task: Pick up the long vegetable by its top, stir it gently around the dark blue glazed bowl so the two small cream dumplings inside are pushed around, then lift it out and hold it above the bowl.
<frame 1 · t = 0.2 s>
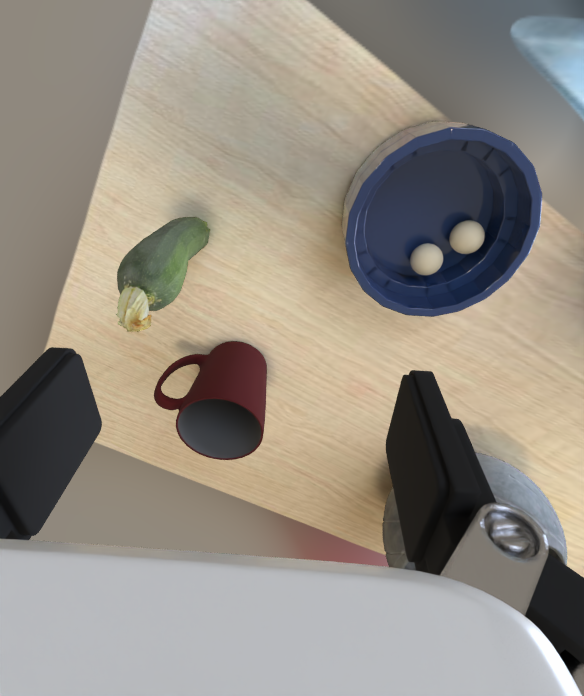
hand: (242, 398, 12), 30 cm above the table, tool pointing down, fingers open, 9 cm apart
vegetable: (198, 220, 39), on the table
dumpling a: (466, 237, 37), point 2 cm above the table, tilted 59°, touching mixing bowl
dumpling b: (426, 259, 38), point 2 cm above the table, tilted 81°, touching mixing bowl
mixing bowl: (423, 214, 38), on the table
bowl: (445, 471, 59), on the table
mug: (225, 359, 49), on the table
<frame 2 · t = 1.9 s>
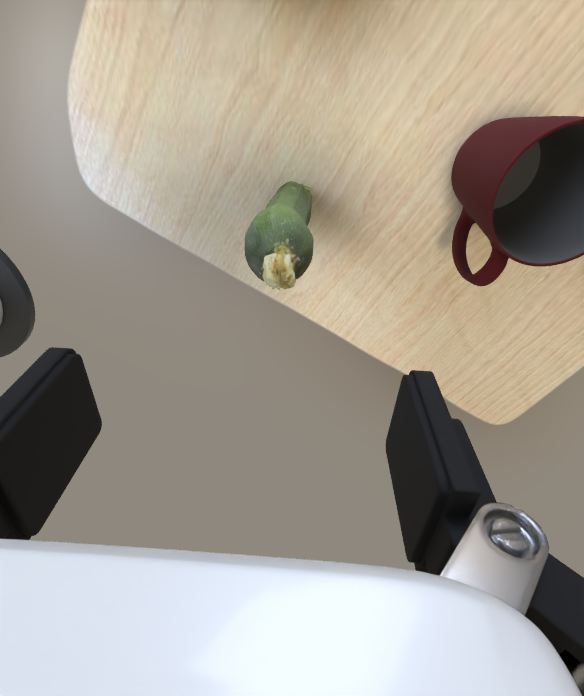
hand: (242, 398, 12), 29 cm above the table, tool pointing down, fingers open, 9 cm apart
vegetable: (288, 195, 36), on the table
mug: (481, 184, 35), on the table
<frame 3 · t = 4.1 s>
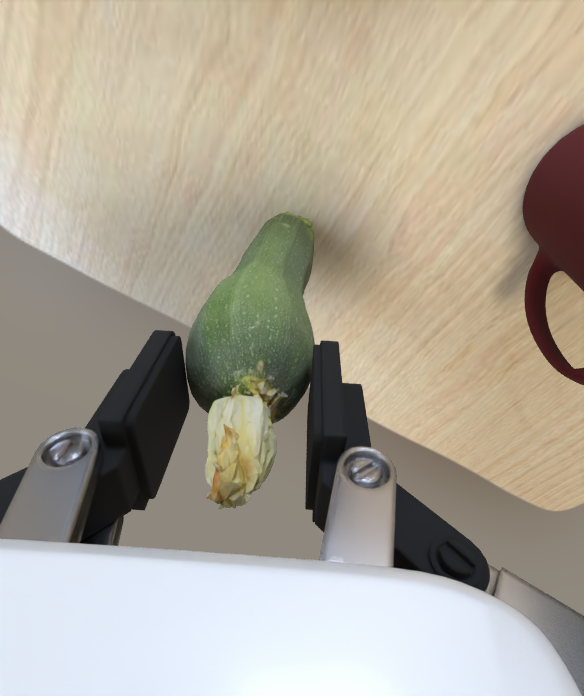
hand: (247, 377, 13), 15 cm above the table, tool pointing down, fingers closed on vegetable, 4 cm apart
vegetable: (280, 229, 25), on the table, touching gripper
mug: (567, 213, 23), on the table
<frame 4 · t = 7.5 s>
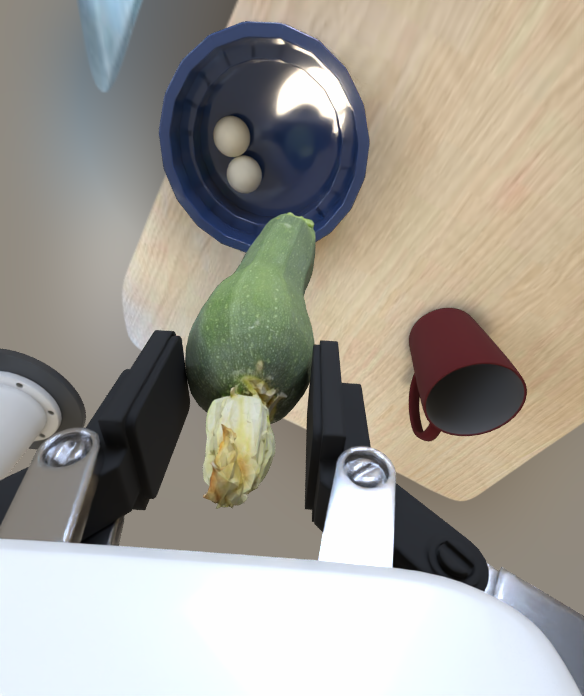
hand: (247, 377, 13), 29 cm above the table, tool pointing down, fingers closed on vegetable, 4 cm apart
vegetable: (282, 229, 25), point 14 cm above the table, touching gripper
dumpling a: (231, 136, 32), point 2 cm above the table, tilted 128°, touching mixing bowl
dumpling b: (244, 174, 34), point 2 cm above the table, tilted 56°, touching mixing bowl
mixing bowl: (270, 144, 35), on the table
mug: (432, 345, 46), on the table
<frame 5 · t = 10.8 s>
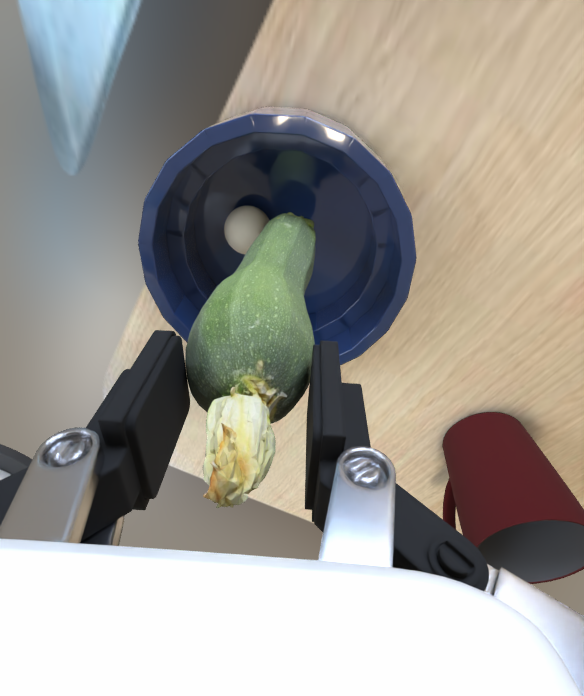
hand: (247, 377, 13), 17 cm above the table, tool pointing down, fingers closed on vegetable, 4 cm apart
vegetable: (282, 229, 25), point 2 cm above the table, touching gripper
dumpling a: (248, 230, 25), point 2 cm above the table, tilted 96°, touching mixing bowl
mixing bowl: (283, 237, 28), on the table
mug: (470, 447, 39), on the table
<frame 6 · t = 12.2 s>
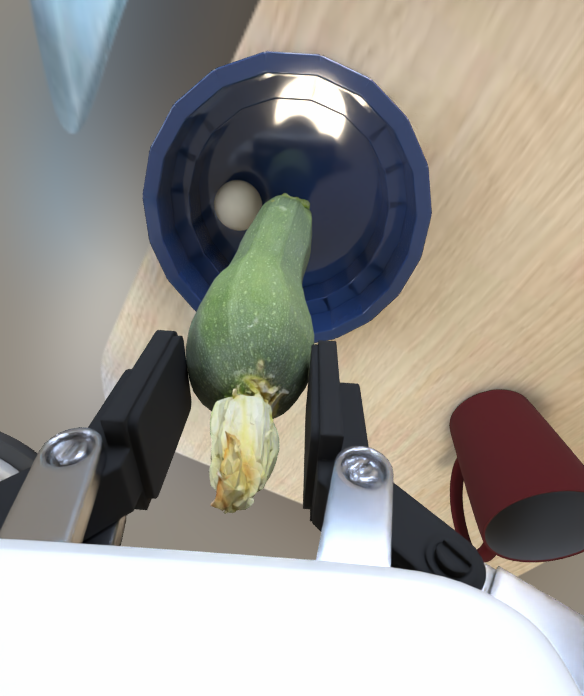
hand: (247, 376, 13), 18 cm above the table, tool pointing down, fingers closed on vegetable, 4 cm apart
vegetable: (278, 210, 24), point 3 cm above the table, touching dumpling b, gripper
dumpling a: (238, 205, 25), point 2 cm above the table, tilted 151°, touching mixing bowl
mixing bowl: (290, 201, 27), on the table
mug: (477, 427, 38), on the table
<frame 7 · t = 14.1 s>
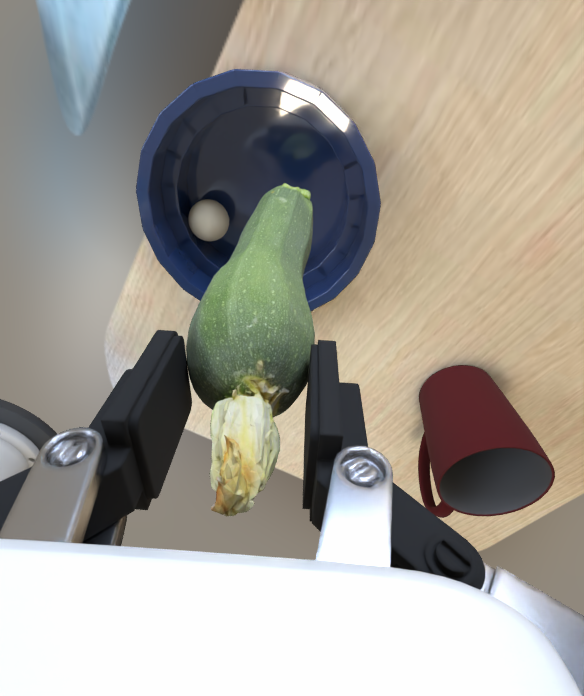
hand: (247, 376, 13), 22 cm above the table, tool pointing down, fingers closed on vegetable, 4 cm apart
vegetable: (278, 201, 24), point 7 cm above the table, touching gripper
dumpling a: (209, 220, 30), point 2 cm above the table, tilted 133°, touching mixing bowl
mixing bowl: (267, 193, 31), on the table
mug: (445, 401, 42), on the table
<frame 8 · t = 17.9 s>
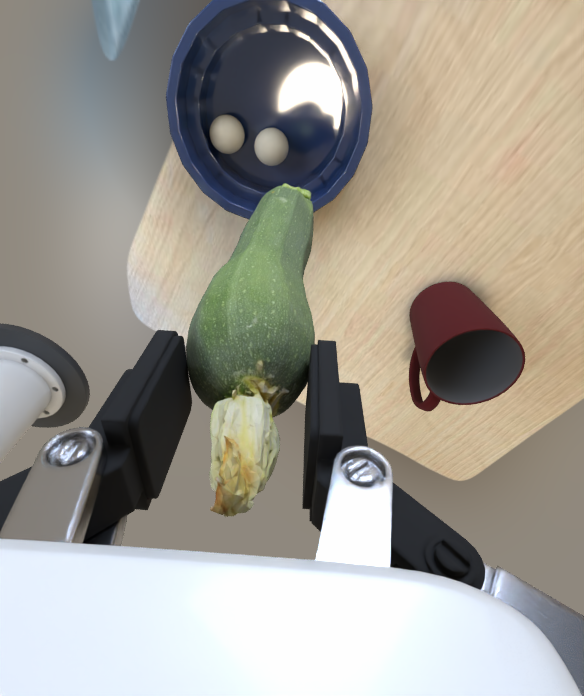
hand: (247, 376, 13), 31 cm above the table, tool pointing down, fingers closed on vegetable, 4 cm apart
vegetable: (279, 201, 24), point 16 cm above the table, touching gripper
dumpling a: (227, 134, 34), point 2 cm above the table, tilted 137°, touching mixing bowl
dumpling b: (271, 147, 35), point 2 cm above the table, tilted 66°, touching mixing bowl
mixing bowl: (275, 114, 35), on the table
mug: (433, 320, 46), on the table
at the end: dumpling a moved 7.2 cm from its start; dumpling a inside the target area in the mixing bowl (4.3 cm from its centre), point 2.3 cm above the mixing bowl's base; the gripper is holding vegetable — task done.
